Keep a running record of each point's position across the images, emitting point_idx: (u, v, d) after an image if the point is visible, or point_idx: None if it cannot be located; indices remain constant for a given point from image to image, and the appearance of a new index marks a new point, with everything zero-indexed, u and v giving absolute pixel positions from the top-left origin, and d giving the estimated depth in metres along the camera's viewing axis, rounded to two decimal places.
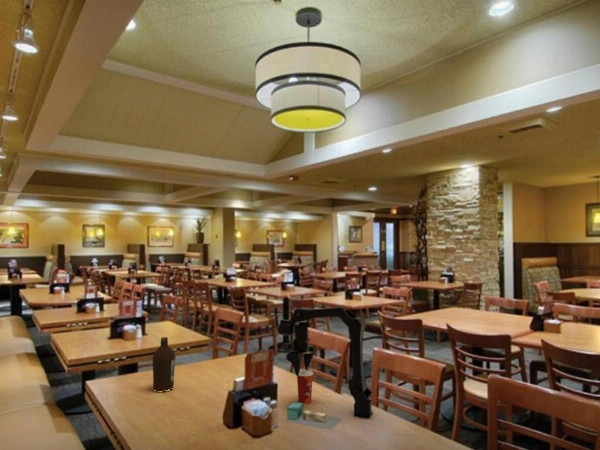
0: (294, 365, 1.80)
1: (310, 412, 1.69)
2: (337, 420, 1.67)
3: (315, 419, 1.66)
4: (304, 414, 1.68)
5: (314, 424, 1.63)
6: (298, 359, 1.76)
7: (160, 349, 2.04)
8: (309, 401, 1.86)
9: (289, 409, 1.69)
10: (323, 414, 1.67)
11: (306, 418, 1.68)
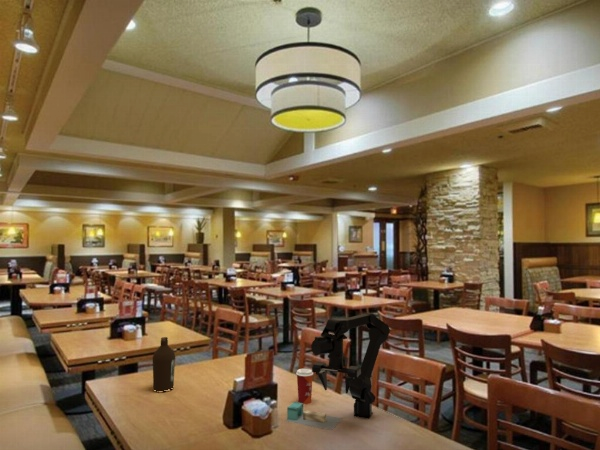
0: None
1: (310, 412, 1.69)
2: (337, 420, 1.67)
3: (315, 419, 1.66)
4: (304, 414, 1.68)
5: (314, 424, 1.63)
6: (312, 370, 1.67)
7: (160, 349, 2.04)
8: (309, 401, 1.86)
9: (289, 409, 1.69)
10: (323, 414, 1.67)
11: (306, 418, 1.68)
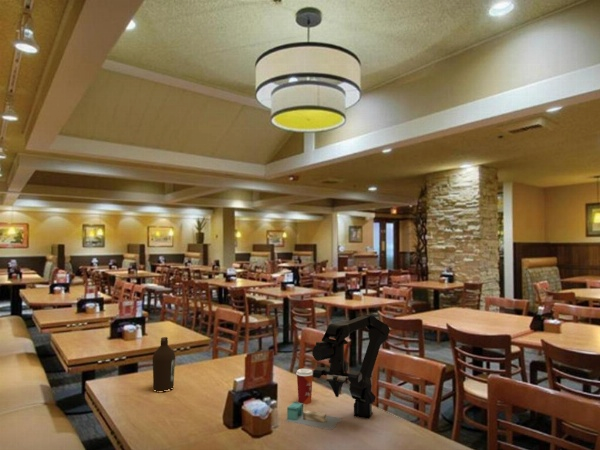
0: None
1: (310, 412, 1.69)
2: (337, 420, 1.67)
3: (315, 419, 1.66)
4: (304, 414, 1.68)
5: (314, 424, 1.63)
6: (313, 375, 1.66)
7: (160, 349, 2.04)
8: (309, 401, 1.86)
9: (289, 409, 1.69)
10: (323, 414, 1.67)
11: (306, 418, 1.68)
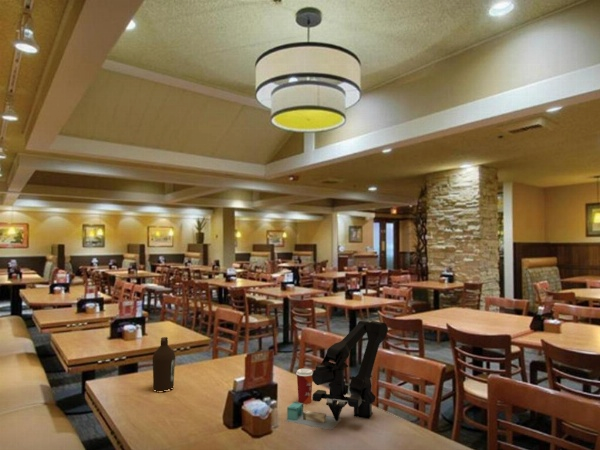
0: None
1: (310, 412, 1.69)
2: None
3: (315, 419, 1.66)
4: (304, 414, 1.68)
5: (314, 424, 1.63)
6: (313, 398, 1.66)
7: (160, 349, 2.04)
8: (309, 401, 1.86)
9: (289, 409, 1.69)
10: (323, 414, 1.67)
11: (306, 418, 1.68)
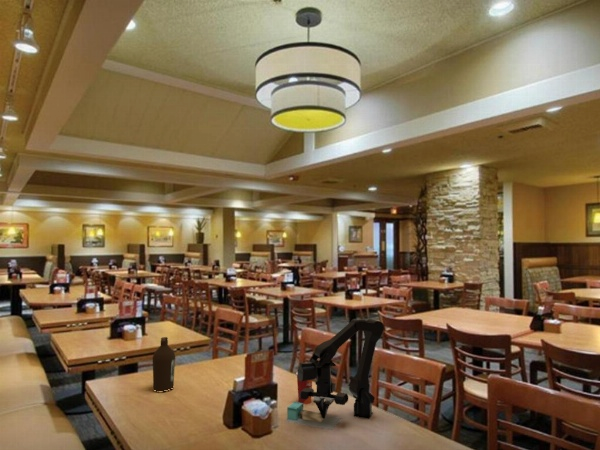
0: None
1: (307, 411, 1.69)
2: (337, 420, 1.67)
3: (312, 418, 1.67)
4: (301, 413, 1.69)
5: (314, 424, 1.63)
6: (300, 396, 1.68)
7: (160, 349, 2.04)
8: (309, 401, 1.86)
9: (289, 409, 1.69)
10: (320, 413, 1.67)
11: (303, 417, 1.68)
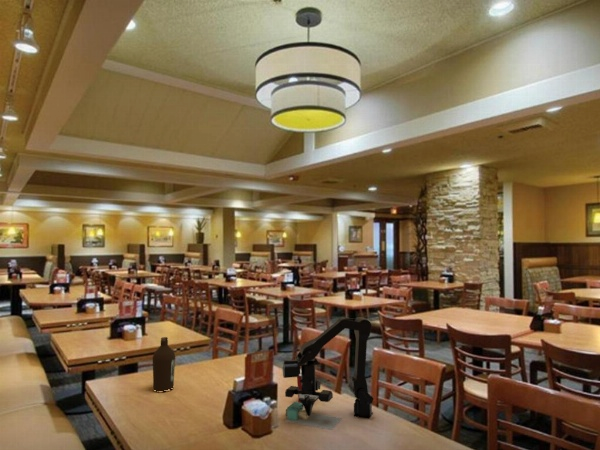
0: None
1: None
2: (337, 420, 1.67)
3: None
4: None
5: (314, 424, 1.63)
6: (285, 394, 1.70)
7: (160, 349, 2.04)
8: None
9: (289, 409, 1.69)
10: (305, 411, 1.70)
11: None
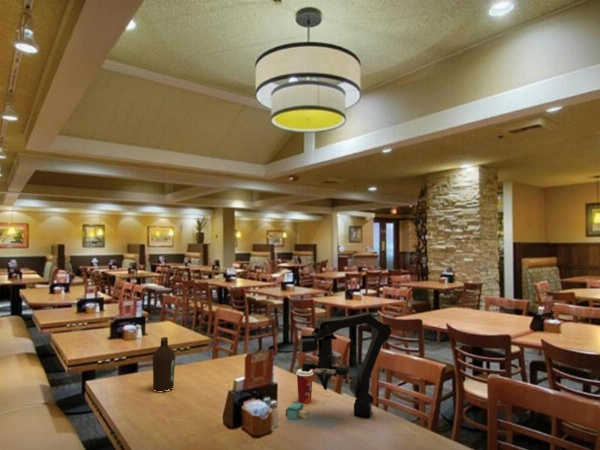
0: None
1: None
2: (337, 420, 1.67)
3: None
4: None
5: (314, 424, 1.63)
6: (302, 369, 1.71)
7: (160, 349, 2.04)
8: (309, 401, 1.86)
9: (289, 409, 1.69)
10: (305, 411, 1.70)
11: None
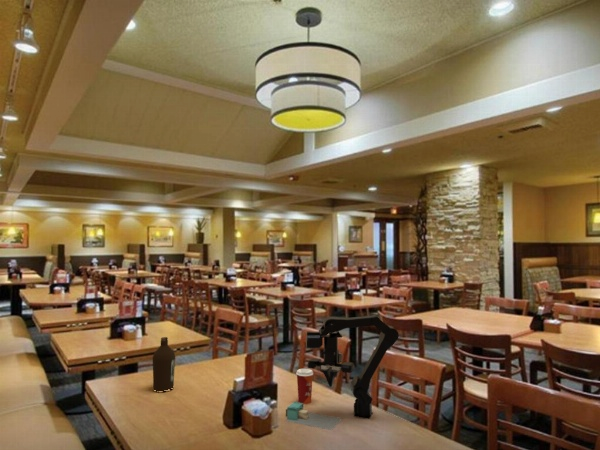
0: None
1: None
2: (337, 420, 1.67)
3: None
4: None
5: (314, 424, 1.63)
6: (308, 366, 1.75)
7: (160, 349, 2.04)
8: (309, 401, 1.86)
9: (289, 409, 1.69)
10: (305, 411, 1.70)
11: None
